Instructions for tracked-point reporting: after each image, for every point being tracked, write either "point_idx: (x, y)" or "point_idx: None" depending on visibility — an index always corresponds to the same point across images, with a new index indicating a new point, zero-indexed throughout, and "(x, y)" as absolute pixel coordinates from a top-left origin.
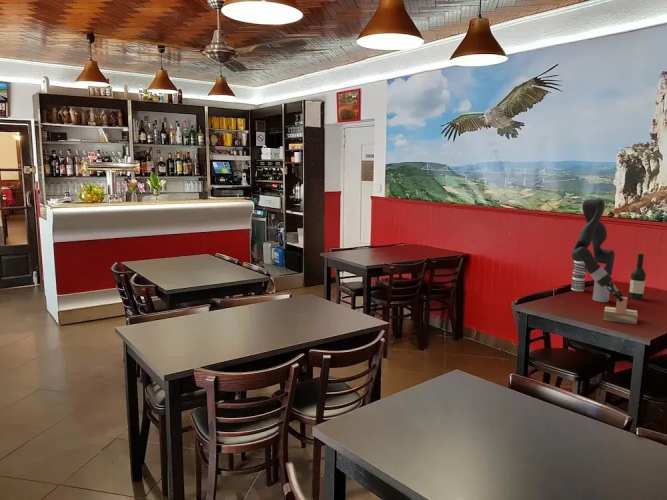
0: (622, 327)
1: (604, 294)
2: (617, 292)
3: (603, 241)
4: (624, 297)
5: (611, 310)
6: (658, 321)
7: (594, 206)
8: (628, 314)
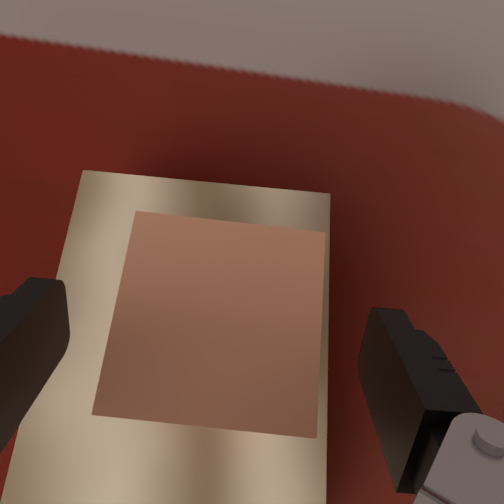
0: (494, 362)
1: None
2: (487, 474)
3: None
4: (195, 271)
5: (229, 476)
6: (113, 67)
7: None
8: (327, 278)
